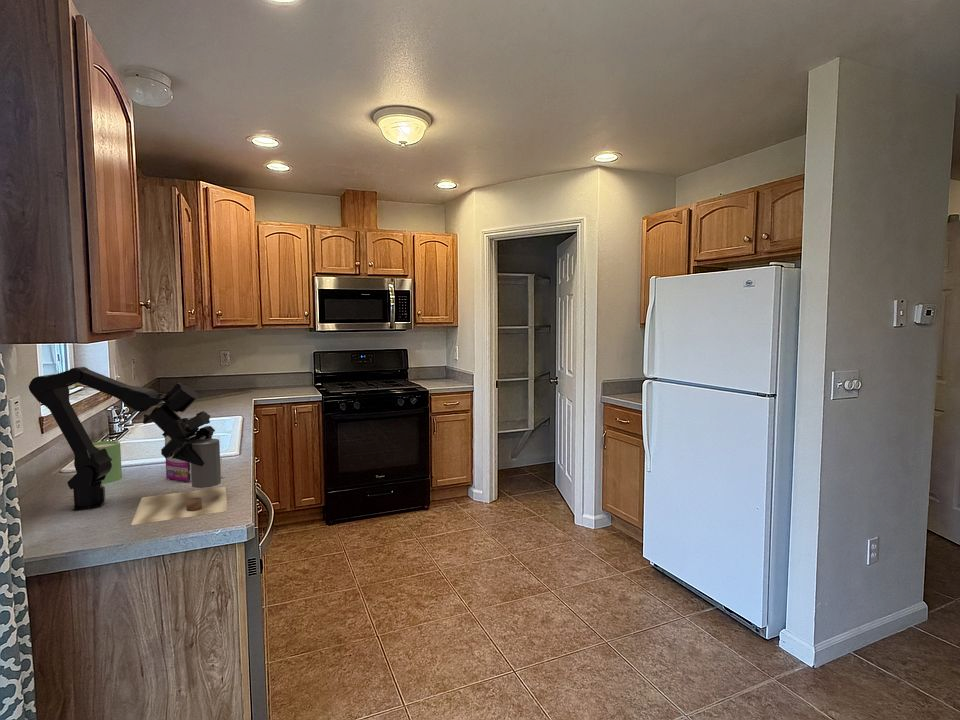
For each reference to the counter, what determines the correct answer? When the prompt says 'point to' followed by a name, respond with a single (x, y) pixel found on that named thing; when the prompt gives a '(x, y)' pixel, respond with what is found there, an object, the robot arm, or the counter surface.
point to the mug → (115, 455)
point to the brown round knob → (194, 504)
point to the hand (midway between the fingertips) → (210, 461)
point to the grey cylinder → (206, 463)
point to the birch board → (179, 505)
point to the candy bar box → (177, 468)
